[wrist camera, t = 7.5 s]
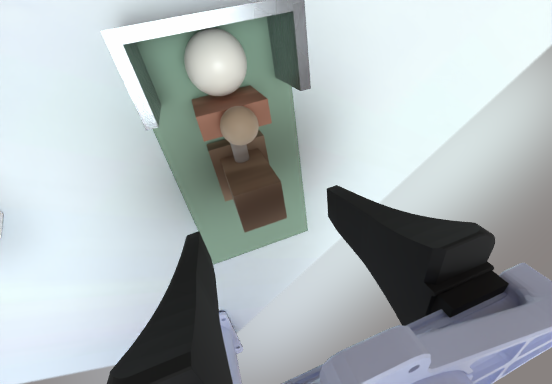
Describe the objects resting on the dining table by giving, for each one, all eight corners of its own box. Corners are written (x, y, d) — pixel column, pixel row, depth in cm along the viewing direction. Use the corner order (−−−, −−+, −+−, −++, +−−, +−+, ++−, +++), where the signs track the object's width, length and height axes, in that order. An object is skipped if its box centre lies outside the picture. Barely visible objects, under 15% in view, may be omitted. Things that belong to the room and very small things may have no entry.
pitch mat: (305, 227, 28) (307, 230, 27) (212, 260, 26) (213, 264, 25) (280, 10, 17) (282, 10, 16) (115, 42, 15) (114, 43, 14)
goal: (281, 74, 19) (310, 88, 15) (152, 105, 17) (146, 130, 13) (271, 0, 16) (303, -7, 12) (119, 28, 15) (99, 30, 11)
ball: (244, 19, 13) (232, 24, 16) (173, 32, 12) (174, 36, 15) (259, 92, 15) (246, 85, 18) (197, 107, 14) (194, 97, 17)
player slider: (269, 179, 22) (297, 224, 17) (222, 193, 21) (238, 245, 16) (249, 80, 17) (279, 103, 12) (189, 94, 17) (197, 124, 12)
